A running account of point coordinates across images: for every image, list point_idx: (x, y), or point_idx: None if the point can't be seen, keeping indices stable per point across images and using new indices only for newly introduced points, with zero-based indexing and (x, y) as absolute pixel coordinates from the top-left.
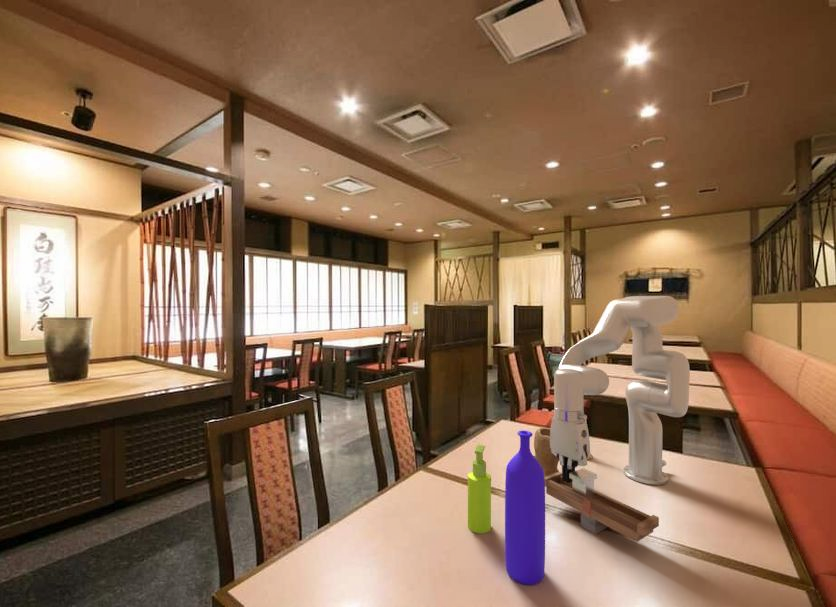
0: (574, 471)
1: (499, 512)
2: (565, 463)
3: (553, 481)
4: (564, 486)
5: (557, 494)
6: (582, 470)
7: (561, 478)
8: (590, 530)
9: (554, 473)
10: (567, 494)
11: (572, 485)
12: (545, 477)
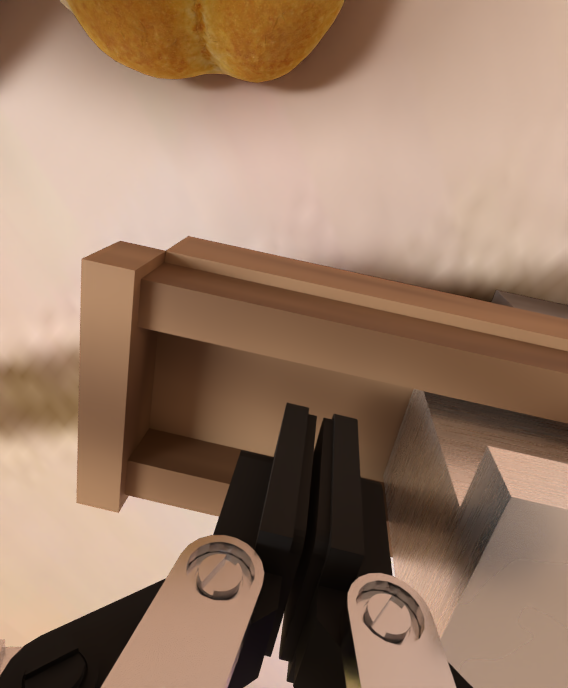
0: (386, 565)
1: (76, 564)
2: (242, 681)
3: (176, 478)
4: (253, 368)
5: None
6: (521, 578)
7: (176, 327)
8: None
9: (81, 342)
10: None
11: (391, 544)
12: (89, 485)
